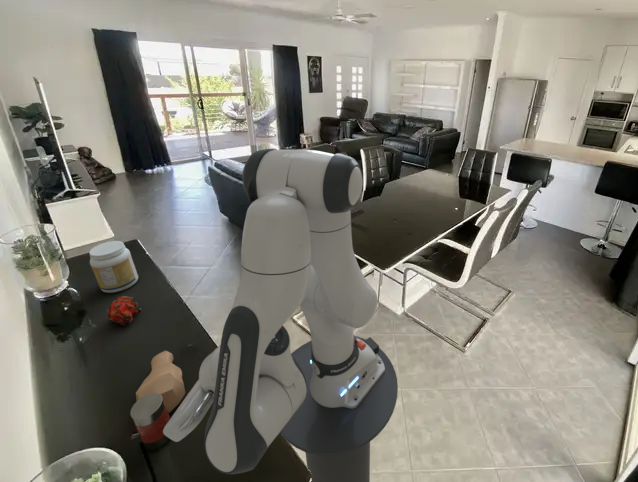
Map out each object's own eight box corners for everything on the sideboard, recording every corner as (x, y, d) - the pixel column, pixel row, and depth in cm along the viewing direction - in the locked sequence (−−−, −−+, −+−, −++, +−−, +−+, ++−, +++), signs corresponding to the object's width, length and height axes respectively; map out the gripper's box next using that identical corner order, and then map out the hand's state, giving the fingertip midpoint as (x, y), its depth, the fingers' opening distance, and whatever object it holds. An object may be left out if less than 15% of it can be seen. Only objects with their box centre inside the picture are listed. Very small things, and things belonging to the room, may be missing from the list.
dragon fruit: (126, 311, 116) (135, 333, 109) (98, 310, 109) (105, 334, 102) (138, 291, 116) (147, 311, 109) (111, 289, 109) (118, 311, 102)
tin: (170, 417, 80) (159, 387, 76) (176, 436, 76) (165, 406, 72) (141, 434, 77) (128, 404, 72) (146, 456, 73) (132, 425, 68)
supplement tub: (105, 279, 130) (91, 243, 123) (141, 272, 135) (129, 237, 128) (96, 298, 120) (80, 260, 113) (135, 289, 125) (122, 252, 118)
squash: (143, 434, 77) (124, 410, 73) (145, 379, 93) (130, 357, 90) (191, 405, 82) (176, 380, 78) (185, 357, 98) (172, 335, 94)
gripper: (205, 435, 54) (168, 458, 59) (262, 338, 72) (230, 362, 78) (174, 414, 53) (139, 439, 58) (240, 321, 71) (209, 347, 77)
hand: (192, 394), depth 68 cm, fingers open, 8 cm apart
